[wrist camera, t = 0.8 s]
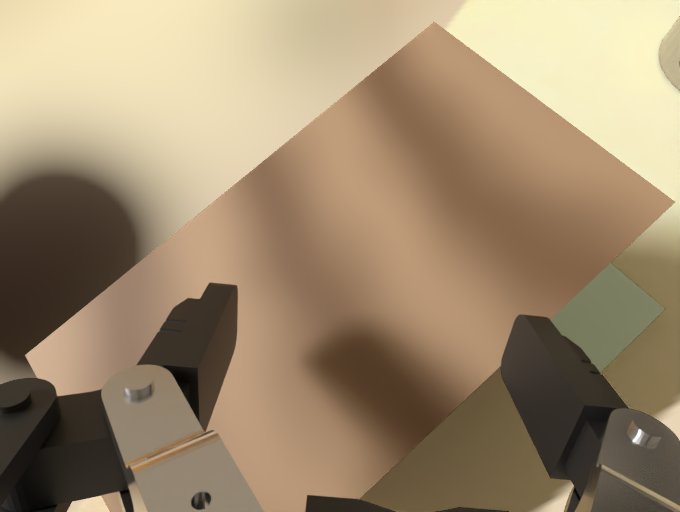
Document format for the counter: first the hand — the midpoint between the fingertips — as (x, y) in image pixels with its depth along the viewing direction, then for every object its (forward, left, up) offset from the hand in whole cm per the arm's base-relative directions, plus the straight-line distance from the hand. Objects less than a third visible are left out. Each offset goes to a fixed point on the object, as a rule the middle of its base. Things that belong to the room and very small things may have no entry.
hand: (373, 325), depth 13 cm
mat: (-14, +6, -22) cm, 27 cm away
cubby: (0, -2, -22) cm, 22 cm away
